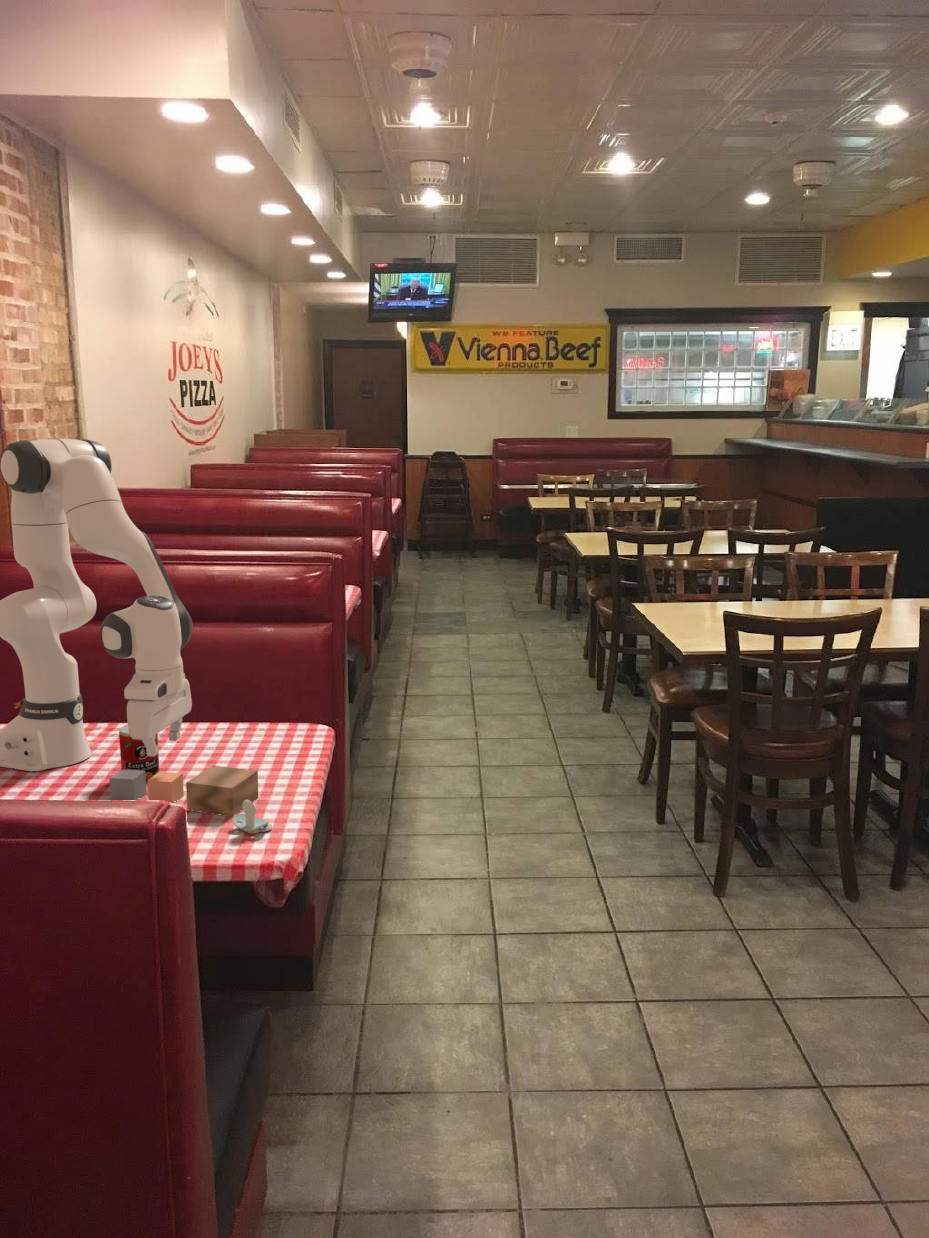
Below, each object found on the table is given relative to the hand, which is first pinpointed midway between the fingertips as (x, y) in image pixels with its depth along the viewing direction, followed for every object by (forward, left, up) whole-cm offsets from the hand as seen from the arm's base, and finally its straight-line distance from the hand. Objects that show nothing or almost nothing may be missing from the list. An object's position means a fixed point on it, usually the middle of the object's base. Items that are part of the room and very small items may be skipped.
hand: (163, 747), depth 188 cm
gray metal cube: (-8, 0, -11) cm, 14 cm away
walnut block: (+12, 0, -11) cm, 16 cm away
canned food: (-11, +11, -11) cm, 19 cm away
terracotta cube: (0, 0, -11) cm, 11 cm away
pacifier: (+22, -10, -11) cm, 27 cm away
